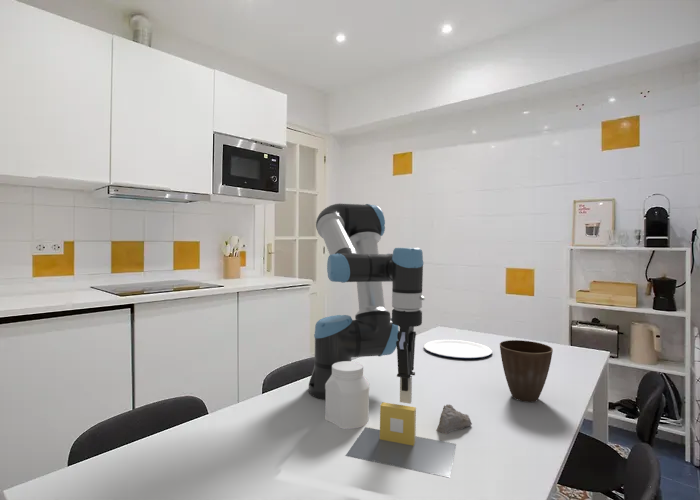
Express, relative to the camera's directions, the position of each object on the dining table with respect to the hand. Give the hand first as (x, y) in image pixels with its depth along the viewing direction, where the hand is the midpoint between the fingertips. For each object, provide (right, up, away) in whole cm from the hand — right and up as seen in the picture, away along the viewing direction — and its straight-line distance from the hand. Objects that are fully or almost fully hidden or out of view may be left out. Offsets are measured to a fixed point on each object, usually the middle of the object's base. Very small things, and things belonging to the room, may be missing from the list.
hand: (405, 401), depth 100 cm
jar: (-15, -7, +4) cm, 17 cm away
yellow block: (-3, -6, -8) cm, 10 cm away
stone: (+11, -8, 0) cm, 14 cm away
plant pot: (+40, -7, +22) cm, 46 cm away
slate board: (-2, -7, -12) cm, 14 cm away
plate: (+33, -7, +74) cm, 82 cm away
